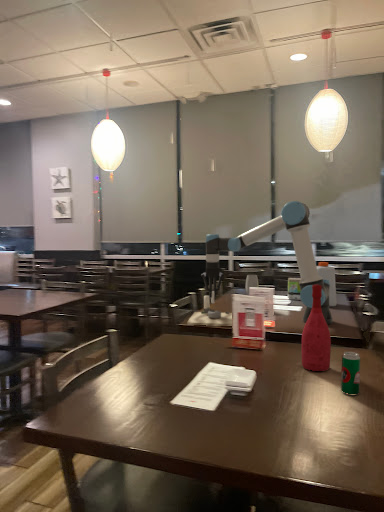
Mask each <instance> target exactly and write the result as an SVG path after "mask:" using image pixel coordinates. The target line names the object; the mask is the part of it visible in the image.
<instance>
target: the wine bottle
mask: <svg viewBox="0 0 384 512" xmlns="http://www.w3.org/2000/svg"><path fill="white" fill-rule="evenodd" d="M321 292H322V286H321V285H319V284H314V285H313V286H312V297H313V304H312V310H311V313H310V315H309V317H308V320H307V322H305V324H304V327H303V330H302V333H301V366H302V368H304V369H306V370H307V369H308V370H307V371H310V370H312V371H311V372H315V371H323V372H327V371H328V370H329V369H330V365H331V350H332V349H331V346H332V345H331V344H332V340H331V339H332V338H331V333H330V330H329V325H328V324H327V323H326V321H325V319H324V316H323V314H322V310H321V297H322V294H321Z"/></svg>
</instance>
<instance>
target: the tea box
mask: <svg viewBox="0 0 384 512" xmlns="http://www.w3.org/2000/svg"><path fill="white" fill-rule="evenodd" d="M300 280H301V277H288V278H287V299H288V298H289V299H288V300H293V301H296V300H297V301H299V300H300V301H301V299H300V292H301V290H300V285H299V282H300Z"/></svg>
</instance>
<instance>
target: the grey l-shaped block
mask: <svg viewBox="0 0 384 512" xmlns="http://www.w3.org/2000/svg"><path fill="white" fill-rule="evenodd" d="M210 301H211V297H210V296H209V295H204V296H203V311H204V312H207V313H208V317H209V318H214V319H216V318H221V313H222V311H220V310H215V309H211V308H210Z"/></svg>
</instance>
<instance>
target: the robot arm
mask: <svg viewBox="0 0 384 512" xmlns="http://www.w3.org/2000/svg"><path fill="white" fill-rule="evenodd" d="M309 208H310V207H308V206H307V205H306V203H303V202H301V201H297V200H292V201H290V202H289V201H288V202H286V203H285V204H284V206H283V207H282V208H281V212H280V215H279V216H277V217H275V218H273V219H270V220H267V222H265V223H263V224H260V225H258V226H256V227H254V228H252V229H250V230H248V231H246V232H244V233H241V234H240V235H238V236H236V237H220V234H217V233H213V234H211V233H208V234H206V236H205V261H206V262H205V271H204V272H203V273H201V277H202V278H203V282H204V286H205V290H206V291H207V292H208V293H209V295H208V296H210V301H211V304H215V298H217V292H218V291H220V289H221V284H222V281H223V278H224V276H225V274H224V273H222V272H221V270H220V252H232V253H233V252H239V251H242V250H244V248H247V247H248V246H250V245H252V244H254V243H257V242H260V241H261V240H263V239H265V238H267V237H270V236H272V235H275V234H276V233H278V232H279V233H280V232H281V231H282V230H285V229H286V231H287V232H289V234H290V237H291V240H292V244H293V249H294V253H295V259H296V263H297V266H298V267H297V268H298V272H299V276H300V278H301V280H300V282H299V285H300V290H301V292H300V299H301V300H300V301H301V303H302V304H303V305H304V306H306V307H305V309H304V312H303V314H302V315H303V316H302V322H304V323H306V322H307V320H308V317H309V315H310V313H311V310H312V304H313V297H312V286H313V285H314V284H319V285H321V286H322V292H321V294H322V297H321V310H322V314H323V316H324V319H325V321H326V323H327V325H331V324H332V323H333V321H334V320H333V319H334V318H333V315H332V313H331V310H330V307H329V294H330V282H329V280H324V279H322V278H321V277H320V276H319V275H318V271H317V267H316V266H317V263H316V259H315V254H314V251H313V246H312V241H311V237H310V232H309V227H310V225H311V224H310V223H311V222H310V219H309V218H310V214H311V213H310V209H309ZM206 276H207V277H208V281H207V278H206ZM218 276H219V277H218ZM217 278H218V281H217ZM208 284H209V285H208Z"/></svg>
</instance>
